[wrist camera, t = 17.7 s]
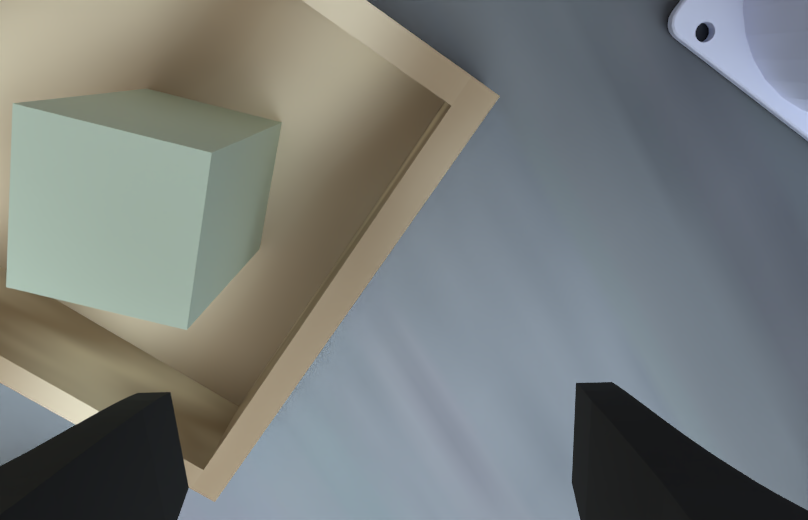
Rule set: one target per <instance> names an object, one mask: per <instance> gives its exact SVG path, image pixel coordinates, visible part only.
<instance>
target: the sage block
mask: <svg viewBox="0 0 808 520" xmlns="http://www.w3.org/2000/svg"><path fill="white" fill-rule="evenodd" d="M281 124H282V122H278V121H274V120H270V119H266V118H262V117H258V116H254V115H250V114H246V113H242V112H238V111H234V110H230V109H226V108H222V107H218V106H214V105H210V104H206V103H202V102H198V101H194V100H190V99H187V98H183V97H179V96H175V95H171V94H167V93H163V92H159V91H155V90H151V89H138V90H129V91H120V92H111V93H102V94H93V95H84V96H74V97H65V98H56V99H47V100H38V101H29V102H20V103H13V105H12V133H11V162H10V190H9V218H8V247H7V275H6V287H8V288H12V289H16V290H20V291H25V292H29V293H33V294H37V295H41V296H46V297H50V298H54V299H58V300H62V301H67V302H71V303H75V304H79V305H83V306H88V307H92V308H96V309H100V310H104V311H109V312H113V313H117V314H121V315H125V316H130V317H134V318H138V319H142V320H147V321H151V322H155V323H159V324H163V325H168V326H172V327H176V328H180V329H184V330H187V329H188V328H189V327H190V326H191V325H192V324H193V323H194V322H195V320H196V319H197V318H198V317H199V316H200V315H201V314H202V313H203V311H204V310H205V309H206V308H207V307H208V306H209V305H210V304H211V303H212V301H213V300H214V299H215V298H216V297H217V296H218V295H219V294H220V293H221V291H222V290H223V289H224V288H225V287H226V286H227V285H228V284H229V283H230V281H231V280H232V279H233V278H234V277H235V276H236V275H237V274H238V273H239V271H240V270H241V269H242V268H243V267H244V266H245V265H246V264H247V263H248V261H249V260H250V259H251V258H252V257H253V256H254V255H255V254H256V252H257V251H258V250H259V249H260V244H261V238H262V232H263V227H264V221H265V215H266V210H267V204H268V198H269V192H270V187H271V181H272V175H273V170H274V164H275V158H276V152H277V147H278V141H279V135H280V130H281Z"/></svg>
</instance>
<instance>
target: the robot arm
mask: <svg viewBox="0 0 808 520" xmlns="http://www.w3.org/2000/svg"><path fill="white" fill-rule="evenodd" d="M701 23H705V24H706V25H707V26H708V28H709V34H708V36H707V38H706V39H705V40H704V41H703V42H700V41H698V40H697V38H696V37H695V31H696V29H697V27H698V25H700V24H701ZM668 29H669V33H670V34H671V35H672V36H673V38H675V39H676V40H677V41H679V42H680V43H681V44H682V45H684V46H685V47H686V48H688V49H689V50H690V51H691V52H693V53H694V54H695V55H697V56H698V57H699V58H701V59H702V60H703V61H704V62H706V63H707V64H708V65H710V66H711V67H712V68H713V69H715V70H716V71H717V72H719V73H720V74H721V75H723V76H724V77H725V78H726V79H728V80H729V81H730V82H732V83H733V84H734V85H736V86H737V87H738V88H739V89H741V90H742V91H743V92H745V93H746V94H747V95H748V96H750V97H751V98H752V99H754V100H755V101H756V102H758V103H759V104H760V105H761V106H763V107H764V108H765V109H767V110H768V111H769V112H770V113H772V114H773V115H774V116H776V117H777V118H778V119H780V120H781V121H782V122H783V123H785V124H786V125H787V126H789V127H790V128H791V129H792V130H794V131H795V132H796V133H798V134H799V135H800V136H802V137H803V138H804V139H805V140H807V141H808V0H680V1H679V3H678V4H677V5H676V7H675V8H674V9H673V11H672V12H671V14H670V16H669V18H668ZM572 485H573V489H574V494H575V498H576V503H577V507H578V511H579V516H580V520H808V511H807V510H806V509H804V508H802V507H800V506H798V505H796V504H794V503H793V502H791V501H789V500H787V499H785V498H783V497H782V496H780V495H778V494H776V493H774V492H773V491H771V490H769V489H767V488H766V487H764V486H762V485H760V484H759V483H757V482H755V481H754V480H752V479H751V478H749V477H747V476H746V475H744V474H743V473H741V472H739V471H738V470H736V469H735V468H733V467H732V466H730V465H728V464H727V463H725V462H724V461H722V460H720V459H719V458H717V457H716V456H714V455H713V454H711V453H710V452H708V451H707V450H706V449H704V448H703V447H701V446H700V445H698V444H697V443H695V442H694V441H692V440H691V439H690V438H688V437H687V436H685V435H684V434H683V433H681V432H680V431H678V430H677V429H676V428H674V427H673V426H671V425H670V424H669V423H667V422H666V421H665V420H663V419H662V418H661V417H659V416H658V415H657V414H655V413H654V412H652V411H651V410H650V409H648V408H647V407H646V406H644V405H643V404H642V403H640V402H639V401H638V400H636V399H635V398H634V397H632V396H631V395H630V394H628V393H627V392H626V391H624V390H623V389H621V388H620V387H619V386H617V385H615V384H614V383H612V382H603V383H576V399H575V422H574V446H573V469H572ZM188 488H189V486H188V481H187V476H186V470H185V465H184V460H183V455H182V449H181V444H180V439H179V434H178V428H177V423H176V418H175V413H174V407H173V402H172V397H171V392H150V393H136V394H134V395H131V396H129V397H127V398H125V399H123V400H120V401H118V402H117V403H115V404H113V405H111V406H109V407H107V408H105V409H103V410H101V411H100V412H98V413H96V414H94V415H92V416H91V417H89V418H87V419H85V420H83V421H82V422H80V423H78V424H76V425H75V426H73V427H71V428H69V429H68V430H66V431H64V432H62V433H60V434H59V435H57V436H55V437H53V438H52V439H50V440H48V441H46V442H45V443H43V444H41V445H39V446H37V447H36V448H34V449H32V450H30V451H28V452H27V453H25V454H23V455H21V456H19V457H17V458H15V459H13V460H11V461H10V462H8V463H6V464H4V465H2V466H0V520H177V519H178V516H179V513H180V511H181V508H182V505H183V502H184V499H185V496H186V494H187V491H188Z"/></svg>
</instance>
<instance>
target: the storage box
mask: <svg viewBox="0 0 808 520" xmlns="http://www.w3.org/2000/svg"><path fill="white" fill-rule="evenodd" d="M138 89H151V90H155V91H159V92H163V93H167V94H171V95H175V96H179V97H183V98H187V99H190V100H194V101H198V102H202V103H206V104H210V105H214V106H218V107H222V108H226V109H230V110H234V111H238V112H242V113H246V114H250V115H254V116H258V117H262V118H266V119H270V120H274V121H278V122H282V124H281V130H280V135H279V141H278V147H277V152H276V158H275V164H274V170H273V175H272V181H271V187H270V192H269V198H268V204H267V210H266V215H265V221H264V227H263V232H262V238H261V244H260V249H259V250H258V251H257V252H256V254H255V255H254V256H253V257H252V258H251V259H250V260H249V261H248V263H247V264H246V265H245V266H244V267H243V268H242V269H241V270H240V271H239V273H238V274H237V275H236V276H235V277H234V278H233V279H232V280H231V281H230V283H229V284H228V285H227V286H226V287H225V288H224V289H223V290H222V291H221V293H220V294H219V295H218V296H217V297H216V298H215V299H214V300H213V301H212V303H211V304H210V305H209V306H208V307H207V308H206V309H205V310H204V311H203V313H202V314H201V315H200V316H199V317H198V318H197V319H196V320H195V322H194V323H193V324H192V325H191V326H190V327H189V328H188V329H187V330H184V329H180V328H176V327H172V326H168V325H163V324H159V323H155V322H151V321H147V320H142V319H138V318H134V317H130V316H125V315H121V314H117V313H113V312H109V311H104V310H100V309H96V308H92V307H88V306H83V305H79V304H75V303H71V302H67V301H62V300H58V299H54V298H50V297H46V296H41V295H37V294H33V293H29V292H25V291H20V290H16V289H12V288H8V287H6V275H7V247H8V218H9V190H10V162H11V133H12V105H13V103H20V102H29V101H38V100H47V99H56V98H65V97H74V96H84V95H93V94H102V93H111V92H120V91H129V90H138ZM499 97H500V96H499V95H498V94H496V93H495V92H493V91H492V90H491V89H489V88H488V87H486V86H485V85H484V84H482V83H481V82H479V81H478V80H477V79H475V78H474V77H472V76H471V75H470V74H468V73H467V72H465V71H464V70H463V69H461V68H460V67H458V66H457V65H456V64H454V63H453V62H452V61H450V60H449V59H447V58H446V57H445V56H443V55H442V54H440V53H439V52H438V51H436V50H435V49H433V48H432V47H431V46H429V45H428V44H426V43H425V42H424V41H422V40H421V39H419V38H418V37H417V36H415V35H414V34H412V33H411V32H410V31H408V30H407V29H406V28H404V27H403V26H401V25H400V24H399V23H397V22H396V21H394V20H393V19H392V18H390V17H389V16H387V15H386V14H385V13H383V12H382V11H380V10H379V9H378V8H376V7H375V6H373V5H372V4H371V3H369V2H368V1H366V0H0V383H2V384H4V385H5V386H7V387H9V388H11V389H12V390H14V391H16V392H18V393H20V394H21V395H23V396H25V397H27V398H29V399H30V400H32V401H34V402H36V403H38V404H39V405H41V406H43V407H45V408H47V409H48V410H50V411H52V412H54V413H56V414H57V415H59V416H61V417H63V418H65V419H66V420H68V421H70V422H72V423H74V424H75V425H76V424H78V423H80V422H82V421H83V420H85V419H87V418H89V417H91V416H92V415H94V414H96V413H98V412H100V411H101V410H103V409H105V408H107V407H109V406H111V405H113V404H115V403H117V402H118V401H120V400H123V399H125V398H127V397H129V396H131V395H134V394H136V393H150V392H171V397H172V402H173V407H174V413H175V418H176V423H177V428H178V434H179V439H180V444H181V449H182V455H183V460H184V465H185V470H186V476H187V481H188V486H189V488H191V489H192V490H194V491H196V492H198V493H200V494H201V495H203V496H205V497H207V498H209V499H210V500H212V501H214V502H215V501H216V499H217V498H218V497H219V495H220V494H221V492H222V491H223V489H224V488H225V487H226V485H227V484H228V482H229V481H230V479H231V478H232V477H233V475H234V474H235V472H236V471H237V469H238V468H239V467H240V465H241V464H242V462H243V461H244V460H245V458H246V457H247V455H248V454H249V452H250V451H251V450H252V448H253V447H254V445H255V444H256V442H257V441H258V440H259V438H260V437H261V435H262V434H263V432H264V431H265V430H266V428H267V427H268V425H269V424H270V423H271V421H272V420H273V418H274V417H275V415H276V414H277V413H278V411H279V410H280V408H281V407H282V405H283V404H284V403H285V401H286V400H287V398H288V397H289V396H290V394H291V393H292V391H293V390H294V388H295V387H296V386H297V384H298V383H299V381H300V380H301V378H302V377H303V376H304V374H305V373H306V371H307V370H308V368H309V367H310V366H311V364H312V363H313V361H314V360H315V359H316V357H317V356H318V354H319V353H320V351H321V350H322V349H323V347H324V346H325V344H326V343H327V341H328V340H329V339H330V337H331V336H332V334H333V333H334V332H335V330H336V329H337V327H338V326H339V324H340V323H341V322H342V320H343V319H344V317H345V316H346V314H347V313H348V312H349V310H350V309H351V307H352V306H353V304H354V303H355V302H356V300H357V299H358V297H359V296H360V295H361V293H362V292H363V290H364V289H365V287H366V286H367V285H368V283H369V282H370V280H371V279H372V277H373V276H374V275H375V273H376V272H377V270H378V269H379V267H380V266H381V265H382V263H383V262H384V260H385V259H386V258H387V256H388V255H389V253H390V252H391V250H392V249H393V248H394V246H395V245H396V243H397V242H398V240H399V239H400V238H401V236H402V235H403V233H404V232H405V231H406V229H407V228H408V226H409V225H410V223H411V222H412V221H413V219H414V218H415V216H416V215H417V213H418V212H419V211H420V209H421V208H422V206H423V205H424V203H425V202H426V201H427V199H428V198H429V196H430V195H431V194H432V192H433V191H434V189H435V188H436V186H437V185H438V184H439V182H440V181H441V179H442V178H443V176H444V175H445V174H446V172H447V171H448V169H449V168H450V166H451V165H452V164H453V162H454V161H455V159H456V158H457V157H458V155H459V154H460V152H461V151H462V149H463V148H464V147H465V145H466V144H467V142H468V141H469V139H470V138H471V137H472V135H473V134H474V132H475V131H476V130H477V128H478V127H479V125H480V124H481V122H482V121H483V120H484V118H485V117H486V115H487V114H488V112H489V111H490V110H491V108H492V107H493V105H494V104H495V102H496V101H497V100H498V98H499Z"/></svg>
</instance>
